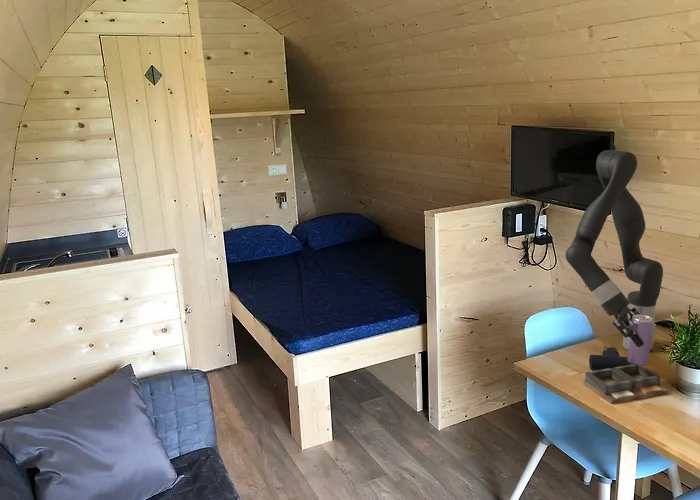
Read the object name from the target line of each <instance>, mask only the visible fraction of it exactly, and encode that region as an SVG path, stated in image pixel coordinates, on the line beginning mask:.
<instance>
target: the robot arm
mask: <svg viewBox="0 0 700 500" xmlns="http://www.w3.org/2000/svg"><path fill="white" fill-rule="evenodd" d="M637 166H638V160H637V157H636V155H635V154H634V153H633V152H630V151H625V150H624V151H623V150H613V149H606V150H603V151H601V152H600V153H599V154H598V155H597V158H596V162H595V169H596V172H597V175H598V179H599V181H600V183H601V185H602V188H603V191H602V193H600V195H599V196H598V197H597V198H595V200H593V201H592V202H591V203H590V204H589V206H588V207H587V208H585V211H584V212H583V214H582V216H581V219H580V221H579V223H578V226H577V229H576V232H575V235H574V238H573V240H572V243H571V245H570V246H569V247H567V249H566V251H565V260H566V261H567V263H568V264H569V265H570V266H571V268H572V269H573V270H574V271H575V272H576V273H577V274H578V276H579V277H580V278H581V280H582V281H583V283H584V284H585V286H586V287H587V288H588V290H589V292H591V294H592V295H593V297H594V298H595V300H596V302H598V304H599V305H600V306H601V309H603V310H604V312H605V313H606V314H607V316H609V317H612V316H614V318H615V320H613V321H612V325H614V327H615V328H616V330H617V331H619V332H620V334H621V335H622V336H623V337H622V338H623V339H622V347H623V348H624V349H626V350H628V343H629V338H631V339H632V341H633V342H634V343H635V344H636V346H637V347H641V346H642V345H644V342H643V341H642V340H641V338H640V337H639V336H638V335H637V334H636V332H635V330H634V328H633V327H634V326H633V323H632V320H631V319H632V316H633V315H646V316H649V317H651V318H652V322H653V325H652V333H651V340H650V348H649V352H650V351H651V350H653V349H654V344H655V335H656V328H657V324H656V323H655V317H656V308H657V307H656V306H657V301H658V299H659V296H660V293H661V287H662V283H663V276H664V269H663V265H662V263H661V262H659V261H658V260H655V259H650V258H646V257H644V256H643V254H642V252H641V248H640V241H642V240H641V239H642V237H643V235H644V233H645V231H646V221H645V216H644V212H643V209H642V207H641V205H640V204H639V202H638V201H637V200H636V198H635V197H634V196H633V194H631V193H630V191H629V190H628V189H627V186H628V185H629V183H630V182H631V180H632V178H633V176H634V175H635V173H636V170H637ZM610 212H611V216H612V221H613V224H614V228H615V231H616V234H617V238H618V242H619V245H620V250H621V255H622V256H621V257H622V264H623V271H624V274H625V275H626V276H625V277H626V278H627V279H628V280H629V281H631V282H633V283H636V284H639V285H640V287H639V290H633V291H630V292H629V293H628V294H627V297H626V296H625V294H624V293H623V291H621V290H620V288H619V287H618V286H617V285H616V283H615V282H614V281H612V279H611V278H610V276H609V275H608V274H607V273H606V271H605V270H604V269H602V267H600V265H599V264H598V263H597V261H596V260H595V258H594V257H593V256H592V252H593V249H594V247H595V244H596V241H597V239H598V238H599V236H600V234H601V232H602V230H603V229H604V225H605V222H606V221H607V218H608V216H609V215H610ZM630 329H631V330H630Z"/></svg>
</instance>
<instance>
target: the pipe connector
mask: <svg viewBox="0 0 700 500" xmlns="http://www.w3.org/2000/svg"><path fill="white" fill-rule="evenodd" d="M588 363H589V364H588V365H589V369H590V370H591V371H596V370H602V369H608V368H612V369H613V368H614V367H620V366H626V365H632V364H630V363H629V362H628V361H627V356H621V355H620V353H619V350H618V347H617V346H606V345H604V346H603V350H602V352H601V354H590V355H589V360H588Z"/></svg>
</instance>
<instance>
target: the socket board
mask: <svg viewBox="0 0 700 500" xmlns="http://www.w3.org/2000/svg"><path fill="white" fill-rule="evenodd" d="M584 374H585V375H584V380H583V385H584V386H586V387H587V388H588V389H590V391H592V392H594V393H595V394H597V395H598V396H599V397H600V398H602V399H604V400H605V401H606V402H608V403H609V404H611V405H612V404H613V405H614V404H618V403H619V404H620V403H625V402H629V401H634V400H635V401H636V400H639V399H640V400H641V399H644V398H645V399H646V398H651V397H656V396H662V395H666V394H669V389H668V388H666V387H664V386H662V385H661V379H662V378H661V375H658V374H657V373H655V372H654V371H651V370H650V368H649V369H648V368H647V367H645V366H636V365H626V366H620V367H614V368H613V369H612V368H608V369H602V370H591V371H586V372H585V373H584Z"/></svg>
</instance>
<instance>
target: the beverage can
mask: <svg viewBox="0 0 700 500" xmlns="http://www.w3.org/2000/svg"><path fill="white" fill-rule="evenodd" d="M631 320H632V323H633V326H634V327H633V328H634V330H635V332H636V334H637V335H638V336H639V337H640V338H641V340H642V341H643V342H644V345H642V346H641V347H637V346H636V344H635V343H634V342H633V341H632V339H631V338H629V343H628V349H627V352H626V357H627V361H628V362H629V363H630V364H632V365H636V366H643V367H645V366H646V365H647V364H648V362H649V355H650V351H649V348H650V340H651V333H652V325H653V322H652V318H651V317H649V316H646V315H633V316H632V319H631ZM630 330H631V329H630Z"/></svg>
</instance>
